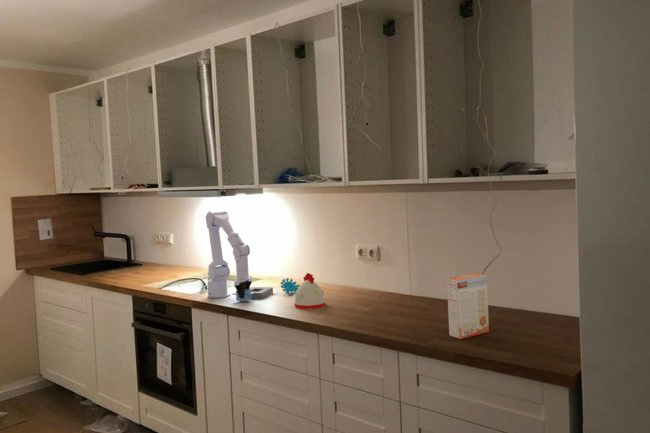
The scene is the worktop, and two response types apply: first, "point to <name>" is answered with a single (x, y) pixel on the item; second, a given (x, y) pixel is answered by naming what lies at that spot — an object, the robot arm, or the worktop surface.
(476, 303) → the cracker box
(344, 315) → the worktop surface
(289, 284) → the gear
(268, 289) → the chassis
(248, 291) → the servo
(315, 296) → the white and red dome
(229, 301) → the worktop surface
